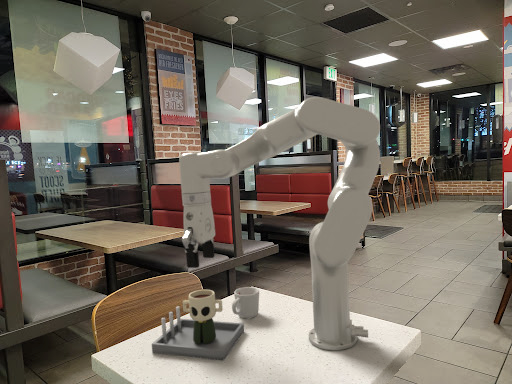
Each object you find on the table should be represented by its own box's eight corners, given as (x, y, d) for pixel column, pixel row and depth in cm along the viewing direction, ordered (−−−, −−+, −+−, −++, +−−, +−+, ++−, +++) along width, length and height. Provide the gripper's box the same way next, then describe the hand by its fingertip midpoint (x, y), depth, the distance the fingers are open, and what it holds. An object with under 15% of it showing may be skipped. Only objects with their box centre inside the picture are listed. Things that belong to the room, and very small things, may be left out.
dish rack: (244, 331, 106) (242, 305, 106) (223, 361, 91) (221, 330, 91) (181, 326, 112) (179, 301, 112) (152, 353, 97) (150, 324, 97)
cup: (244, 326, 110) (242, 300, 110) (224, 320, 115) (222, 295, 114) (265, 313, 119) (264, 289, 118) (246, 308, 124) (244, 285, 123)
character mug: (181, 346, 98) (177, 299, 97) (189, 334, 105) (185, 289, 104) (222, 346, 97) (218, 298, 96) (226, 334, 104) (223, 288, 103)
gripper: (194, 202, 89) (200, 272, 90) (221, 195, 106) (226, 254, 107) (167, 203, 91) (173, 271, 93) (197, 196, 108) (202, 254, 109)
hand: (201, 262), depth 100 cm, fingers open, 9 cm apart
